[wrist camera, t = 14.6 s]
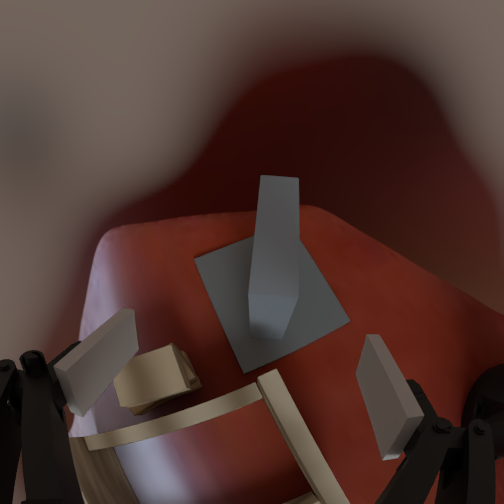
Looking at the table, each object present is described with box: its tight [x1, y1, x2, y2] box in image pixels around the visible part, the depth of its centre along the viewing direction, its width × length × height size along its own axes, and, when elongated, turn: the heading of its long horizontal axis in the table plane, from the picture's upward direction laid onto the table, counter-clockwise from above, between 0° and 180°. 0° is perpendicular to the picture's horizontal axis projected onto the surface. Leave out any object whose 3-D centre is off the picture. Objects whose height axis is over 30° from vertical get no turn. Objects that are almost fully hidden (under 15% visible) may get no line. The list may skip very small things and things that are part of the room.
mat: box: [194, 236, 350, 374], centre depth 35 cm, size 14×16×1 cm
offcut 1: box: [113, 345, 192, 407], centre depth 24 cm, size 7×4×2 cm, turn 113°
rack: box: [69, 369, 350, 504], centre depth 19 cm, size 23×16×10 cm
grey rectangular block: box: [248, 175, 299, 339], centre depth 29 cm, size 4×12×13 cm, turn 175°
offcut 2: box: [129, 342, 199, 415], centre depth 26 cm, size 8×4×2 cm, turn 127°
